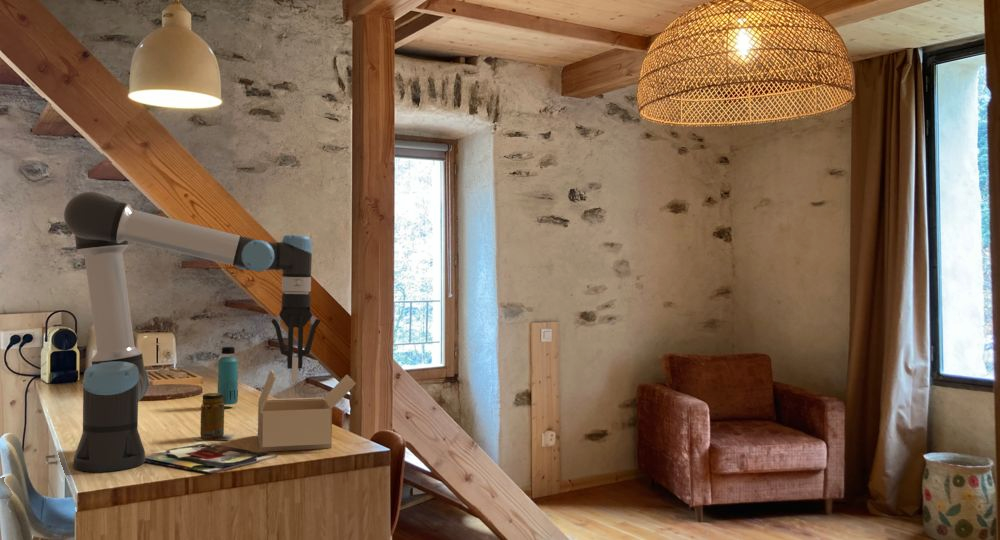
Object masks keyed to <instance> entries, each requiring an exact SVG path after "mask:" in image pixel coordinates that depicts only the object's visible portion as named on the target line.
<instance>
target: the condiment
mask: <svg viewBox="0 0 1000 540" xmlns="http://www.w3.org/2000/svg"><path fill="white" fill-rule="evenodd" d="M201 401H202V402H201V403H202V404H201V405H200V428H199V429H200V432H199V433H200V437H198V438H196V439H195V441H202V442H203V441H228V440H230V439H231V438H233V436H234V434H233V433H232V434H228V433H227V434H224V433H225V432H224V431H225V429H224V428H225V405H224V404H223V394H221V393H218V392H210V393H204V394H203V395H202V400H201Z"/></svg>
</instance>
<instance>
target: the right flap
mask: <svg viewBox="0 0 1000 540" xmlns="http://www.w3.org/2000/svg"><path fill="white" fill-rule="evenodd" d="M356 384H357V383H356V382H355V381H354V380H353V378H351V377H350V376H349V374H346V375H344V377H343V378H341V380H340V381H339V382H338V383H336V385H335V386H334V387H333V388H331V389H330V391H329V392H327V394H326V395H325V396H324V397H323V400H324V399H325V400H326V402H327V403H328V405H329V406H330V408H331V409H332V410H333V408H334V407H335V406H336V405H337V404H338V403H339V402H340V401H341V400H342V399H343V398H344V397H345V396H346V395H347V394H348V393H349V392H350V391H351V389H353V387H354V386H356Z"/></svg>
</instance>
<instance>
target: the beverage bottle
mask: <svg viewBox="0 0 1000 540" xmlns="http://www.w3.org/2000/svg"><path fill="white" fill-rule="evenodd" d="M235 350H236V349H235V347H233V346H223V347H221V354H222V355H234V354H236V351H235ZM217 364H218V365H217V393H221V394H223V404H224V406H228V405H236V404H237V403H238V397H239V388H238V386H239V383H238V381H239V360H238V358H236V357H235V356H221V357H220V359H218V361H217Z"/></svg>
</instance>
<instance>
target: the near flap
mask: <svg viewBox="0 0 1000 540" xmlns="http://www.w3.org/2000/svg"><path fill="white" fill-rule="evenodd" d="M317 444H331V409H307V410H281V411H263V445H262V447H279V446H298V445H317Z"/></svg>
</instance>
